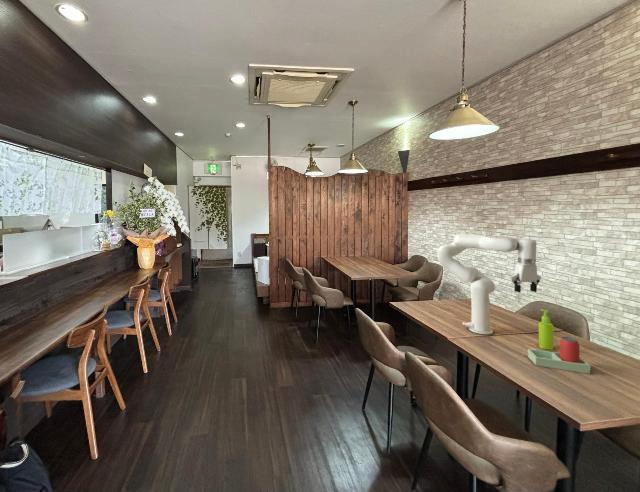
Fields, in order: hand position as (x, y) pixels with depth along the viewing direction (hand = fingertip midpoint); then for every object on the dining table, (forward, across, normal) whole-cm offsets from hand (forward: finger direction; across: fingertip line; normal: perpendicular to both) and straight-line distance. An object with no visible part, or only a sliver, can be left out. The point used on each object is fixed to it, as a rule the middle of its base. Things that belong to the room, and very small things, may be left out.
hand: (525, 291), depth 161 cm
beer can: (+28, +2, +26) cm, 38 cm away
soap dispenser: (+29, -7, +6) cm, 31 cm away
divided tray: (+29, +6, +23) cm, 38 cm away
